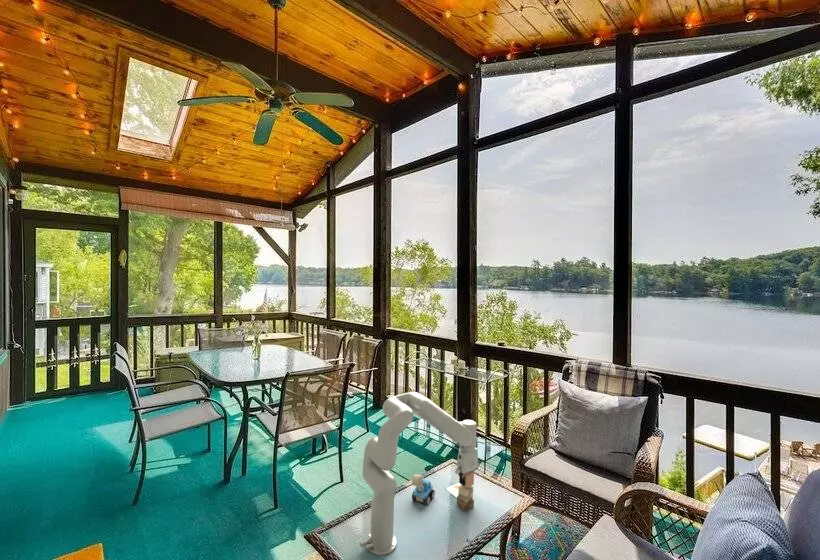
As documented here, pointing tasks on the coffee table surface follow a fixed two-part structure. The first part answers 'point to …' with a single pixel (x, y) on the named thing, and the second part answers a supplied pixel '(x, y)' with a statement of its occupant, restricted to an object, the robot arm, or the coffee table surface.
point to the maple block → (465, 493)
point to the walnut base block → (465, 504)
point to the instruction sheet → (454, 489)
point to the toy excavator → (422, 489)
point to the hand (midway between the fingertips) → (466, 482)
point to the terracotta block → (468, 479)
